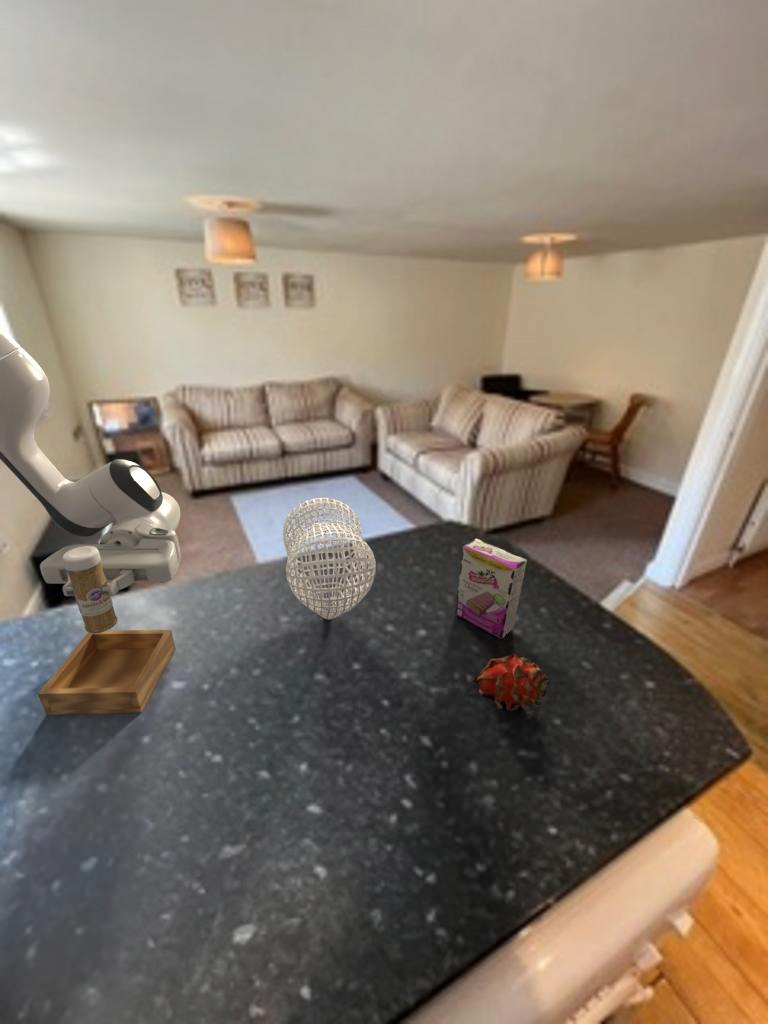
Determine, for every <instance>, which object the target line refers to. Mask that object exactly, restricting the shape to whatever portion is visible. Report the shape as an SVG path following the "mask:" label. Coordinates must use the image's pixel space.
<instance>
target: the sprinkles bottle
mask: <svg viewBox="0 0 768 1024" xmlns="http://www.w3.org/2000/svg"><path fill="white" fill-rule="evenodd" d="M62 560H63V564H64V567H65V569H66V570H67V572H68V574H69V578H70V580H71V584H72V589H73V592H74V595H75V596H74V598H75V602H76V605H77V607H78V610H79V613H80V615H81V618H82V620H83V623H84V629H85V632H87V633H88V632H89V633H101V632H104V631H107V630H111V629H112V628H114V626H116V625H117V622H118V617H117V615H116V612H115V608H114V605H113V604H114V603H113V599H112V596H104V595H103V591H102V589H101V588H102V585H104V584H105V582H106V578H105V576H104V573H103V570H102V566H101V557H100V554H99V551H98V549H97V548H95V547H92V546H83V547H78V548H74V549H72V550H70V551H68V552H66V553H65V554H64V555H63V557H62Z"/></svg>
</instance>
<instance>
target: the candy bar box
mask: <svg viewBox="0 0 768 1024" xmlns="http://www.w3.org/2000/svg"><path fill="white" fill-rule="evenodd" d="M460 560H461V561H460V569H459V575H458V576H459V577H458V579H459V580H458V584H457V593H456V602H455V608H454V609H455V610H454V615H455V614H456V615H455V616H457V615H458V616H459V617H458V616H457V617H458V618H460V617H461V618H460V619H462V618H463V619H462V620H464V619H465V620H464V621H466V620H467V621H466V622H467V623H469V622H470V623H469V624H471V623H472V624H471V625H473V624H474V625H473V626H475V625H476V626H475V627H477V626H478V627H480V628H483V629H485V630H486V631H489V632H490V633H492V634H494V635H496V636H498V637H500V638H503V637H504V636H505V635H506V634H508V633H509V632H510V631H511V630H512V629H513V628H514V629H515V624H516V619H517V614H518V607H519V603H520V599H521V593H522V588H523V585H524V584H523V582H524V578H525V575H526V569H527V564H528V560H527V559H526V558H523V557H521V556H518V555H516V554H514V553H511V552H510V551H507V550H504V549H502V548H499V547H498V546H495V545H492V544H490V543H489V542H485V541H484V540H481V539H479V538H475V539H473V540H472V541H470V542H469V543H466V544H464V545H463V546H462V551H461V559H460ZM478 627H477V628H478ZM480 628H479V629H480ZM514 629H513V630H514ZM513 630H512V631H513ZM486 631H485V632H486ZM512 631H511V632H512ZM511 632H510V633H511ZM510 633H509V634H510ZM509 634H508V635H509Z"/></svg>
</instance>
